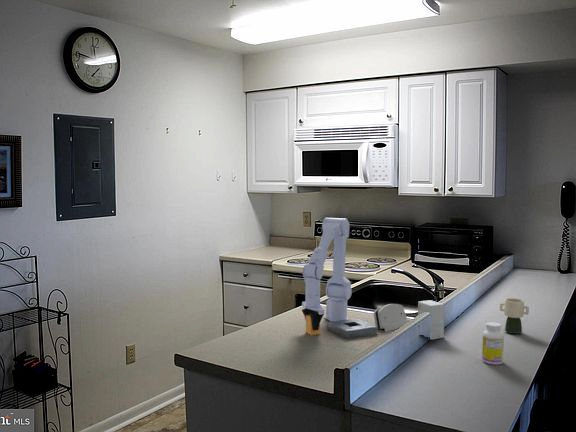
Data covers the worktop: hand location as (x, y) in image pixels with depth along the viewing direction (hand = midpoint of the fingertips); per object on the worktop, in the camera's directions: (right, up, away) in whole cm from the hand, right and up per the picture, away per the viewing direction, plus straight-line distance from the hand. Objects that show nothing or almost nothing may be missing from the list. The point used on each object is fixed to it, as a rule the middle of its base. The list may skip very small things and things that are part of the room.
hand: (312, 328), depth 216 cm
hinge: (+33, -1, +10) cm, 34 cm away
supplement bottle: (+58, -5, -33) cm, 67 cm away
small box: (+45, -2, -3) cm, 45 cm away
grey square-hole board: (+16, -2, +2) cm, 16 cm away
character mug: (+79, -2, +1) cm, 79 cm away
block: (0, -2, 0) cm, 2 cm away
